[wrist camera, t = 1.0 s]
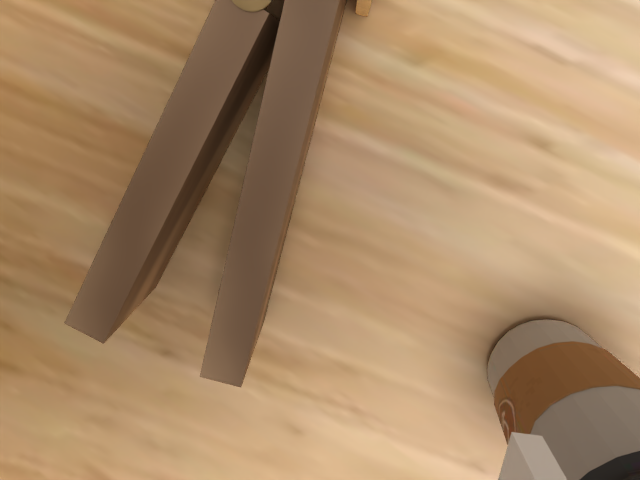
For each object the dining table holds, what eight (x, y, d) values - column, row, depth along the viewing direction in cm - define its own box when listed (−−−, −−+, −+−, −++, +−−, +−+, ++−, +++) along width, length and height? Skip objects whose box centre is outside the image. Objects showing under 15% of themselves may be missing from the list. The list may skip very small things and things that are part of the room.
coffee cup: (456, 315, 31) (549, 519, 17) (603, 285, 30) (837, 474, 16) (480, 434, 33) (581, 704, 19) (617, 409, 32) (833, 674, 18)
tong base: (193, 304, 32) (149, 368, 25) (276, -91, 25) (249, -156, 18) (263, 322, 32) (239, 391, 25) (363, -66, 25) (369, -121, 18)
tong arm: (125, 270, 31) (64, 323, 25) (254, 8, 27) (222, -16, 20) (155, 287, 31) (103, 343, 25) (288, 29, 27) (269, 13, 20)
